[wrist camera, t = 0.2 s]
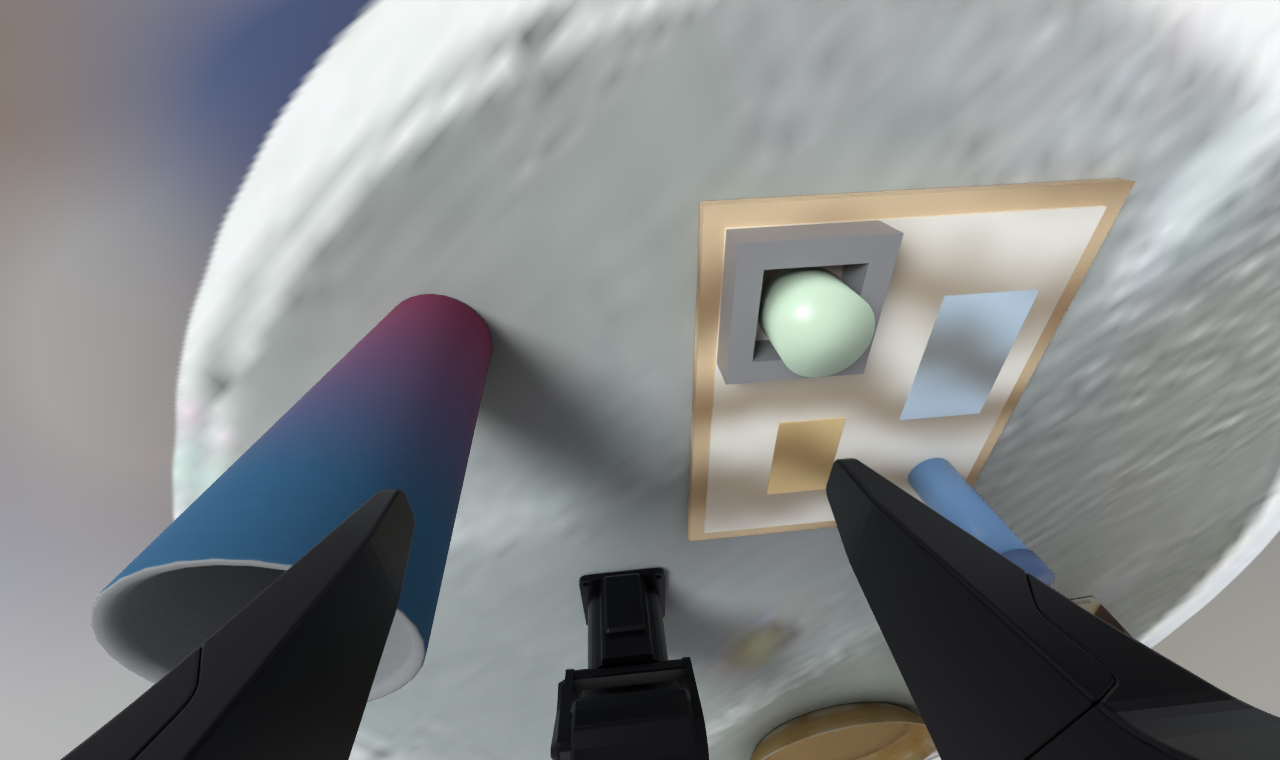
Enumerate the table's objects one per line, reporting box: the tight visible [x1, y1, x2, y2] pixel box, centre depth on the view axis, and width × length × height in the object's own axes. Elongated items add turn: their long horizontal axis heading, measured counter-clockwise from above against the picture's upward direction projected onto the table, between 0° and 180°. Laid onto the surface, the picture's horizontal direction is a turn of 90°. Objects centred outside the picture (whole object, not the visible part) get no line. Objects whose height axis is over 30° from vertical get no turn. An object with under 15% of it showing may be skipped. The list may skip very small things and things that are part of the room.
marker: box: [908, 458, 1054, 586], centre depth 27 cm, size 3×3×8 cm
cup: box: [91, 294, 492, 702], centre depth 17 cm, size 7×7×15 cm
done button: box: [758, 266, 875, 378], centre depth 20 cm, size 4×4×3 cm
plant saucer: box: [750, 702, 936, 760], centre depth 58 cm, size 24×24×3 cm
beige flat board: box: [687, 178, 1135, 541], centre depth 27 cm, size 23×20×1 cm
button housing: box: [717, 220, 904, 385], centre depth 22 cm, size 7×7×2 cm
